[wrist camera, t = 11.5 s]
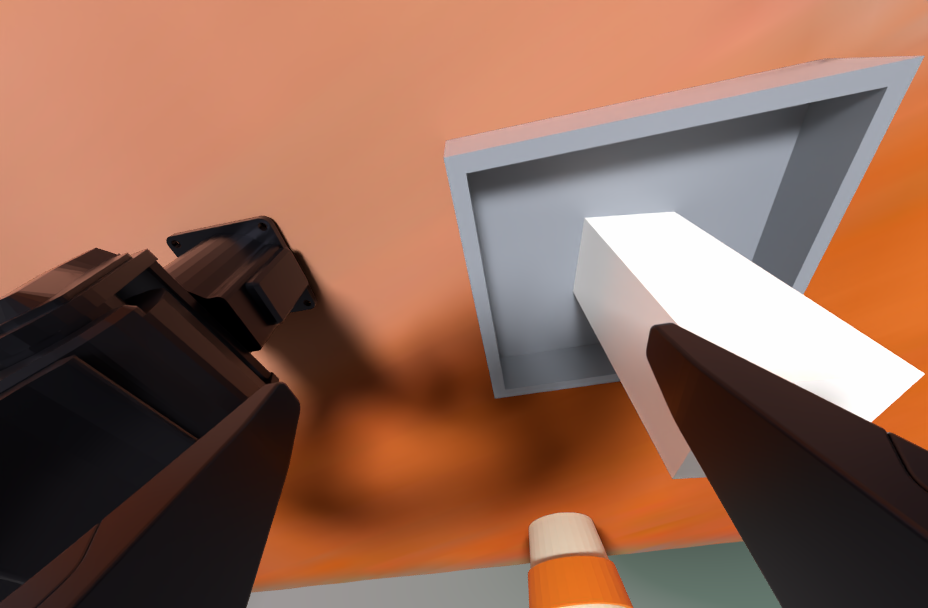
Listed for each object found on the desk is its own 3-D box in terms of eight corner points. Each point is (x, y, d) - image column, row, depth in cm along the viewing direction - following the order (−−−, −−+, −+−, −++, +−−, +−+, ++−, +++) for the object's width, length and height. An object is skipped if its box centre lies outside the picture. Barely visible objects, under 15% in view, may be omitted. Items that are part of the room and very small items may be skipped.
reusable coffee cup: (586, 497, 41) (642, 679, 29) (618, 529, 47) (675, 690, 35) (499, 522, 45) (516, 692, 32) (539, 549, 51) (565, 700, 39)
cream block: (573, 291, 21) (672, 478, 12) (584, 217, 18) (731, 385, 9) (650, 286, 21) (816, 471, 11) (674, 211, 18) (924, 374, 9)
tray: (489, 357, 26) (494, 398, 23) (445, 140, 17) (443, 157, 14) (727, 321, 24) (769, 360, 21) (823, 58, 15) (924, 55, 12)
